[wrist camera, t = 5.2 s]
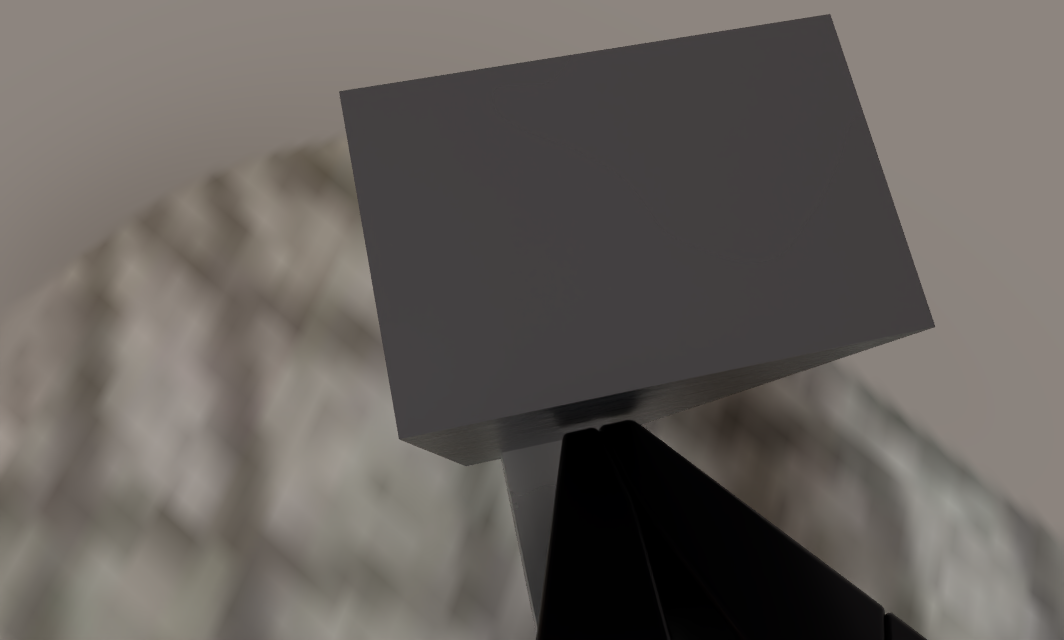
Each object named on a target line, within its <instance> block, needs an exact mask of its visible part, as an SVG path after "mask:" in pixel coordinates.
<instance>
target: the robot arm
mask: <svg viewBox="0 0 1064 640" xmlns="http://www.w3.org/2000/svg"><path fill="white" fill-rule="evenodd" d="M536 640H927V639H926V638H924V637H923V636H922V635H920V634H919V633H918V632H916V631H915V630H914V629H912V628H911V627H910V626H908V625H907V624H906V623H904V622H903V621H902V620H900V619H899V618H898V617H896V616H895V615H894V614H892V613H887V614H886V615H885V610H884V608H883V607H882V606H881V605H880V604H879V603H877V602H876V601H875V600H873V599H872V598H871V597H869V596H868V595H867V594H865V593H864V592H863V591H861V590H860V589H859V588H857V587H856V586H855V585H853V584H852V583H851V582H849V581H848V580H847V579H845V578H844V577H843V576H841V575H840V574H839V573H837V572H836V571H835V570H833V569H832V568H831V567H829V566H828V565H827V564H825V563H824V562H823V561H821V560H820V559H819V558H817V557H816V556H815V555H813V554H812V553H811V552H809V551H808V550H807V549H805V548H804V547H803V546H801V545H800V544H799V543H797V542H796V541H795V540H793V539H792V538H791V537H789V536H788V535H787V534H785V533H784V532H783V531H781V530H780V529H779V528H777V527H776V526H775V525H773V524H772V523H771V522H769V521H768V520H767V519H765V518H764V517H763V516H761V515H760V514H759V513H757V512H756V511H755V510H753V509H752V508H751V507H749V506H748V505H747V504H745V503H744V502H743V501H741V500H740V499H739V498H737V497H736V496H735V495H733V494H732V493H731V492H729V491H728V490H727V489H725V488H724V487H723V486H721V485H720V484H719V483H717V482H716V481H715V480H713V479H712V478H711V477H709V476H708V475H707V474H705V473H704V472H703V471H701V470H700V469H699V468H697V467H696V466H695V465H693V464H692V463H691V462H689V461H688V460H687V459H685V458H684V457H683V456H681V455H680V454H679V453H677V452H676V451H675V450H673V449H672V448H671V447H669V446H668V445H667V444H665V443H664V442H663V441H661V440H660V439H659V438H657V437H656V436H655V435H653V434H652V433H651V432H649V431H648V430H647V429H645V428H644V427H643V426H641V425H640V424H639V423H637V422H636V421H633V420H624V421H620V422H615V423H610V424H605V425H603V426H601V427H600V428H599V431H598V430H597V429H596V428H587V429H582V430H578V431H573V432H568V433H566V434H565V435H564V436H563V438H562V445H561V452H560V460H559V468H558V475H557V483H556V490H555V498H554V506H553V513H552V521H551V529H550V536H549V544H548V551H547V559H546V567H545V574H544V582H543V589H542V597H541V605H540V612H539V620H538V628H537V635H536Z"/></svg>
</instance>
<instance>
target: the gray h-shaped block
mask: <svg viewBox="0 0 1064 640" xmlns="http://www.w3.org/2000/svg"><path fill="white" fill-rule="evenodd" d="M339 93H340V99H341V105H342V110H343V116H344V122H345V128H346V134H347V140H348V145H349V151H350V157H351V163H352V169H353V174H354V180H355V186H356V192H357V198H358V203H359V209H360V215H361V221H362V227H363V232H364V238H365V244H366V250H367V256H368V261H369V267H370V273H371V279H372V285H373V290H374V296H375V302H376V308H377V314H378V319H379V325H380V331H381V337H382V343H383V348H384V354H385V360H386V366H387V371H388V377H389V383H390V389H391V395H392V400H393V406H394V412H395V418H396V424H397V429H398V435H399V439H400V440H402V441H405V442H407V443H410V444H412V445H415V446H417V447H420V448H422V449H424V450H427V451H429V452H432V453H434V454H437V455H439V456H442V457H444V458H447V459H449V460H452V461H454V462H457V463H459V464H462V465H464V466H469V465H474V464H479V463H483V462H488V461H492V460H497V459H501V461H502V466H503V471H504V476H505V481H506V486H507V491H508V496H509V501H510V506H511V511H512V516H513V521H514V526H515V531H516V536H517V541H518V546H519V551H520V556H521V561H522V566H523V571H524V576H525V581H526V586H527V591H528V596H529V601H530V606H531V611H532V616H533V621H534V626H535V631H536V635H537V628H538V620H539V612H540V605H541V597H542V589H543V582H544V574H545V567H546V559H547V551H548V544H549V536H550V529H551V521H552V513H553V506H554V498H555V490H556V483H557V475H558V468H559V460H560V452H561V445H562V438H563V436H564V435H565V434H566V433H568V432H573V431H578V430H582V429H587V428H596V429H597V430H598V431H599V428H600V427H601V426H603V425H605V424H610V423H615V422H620V421H624V420H633V421H636V422H637V423H639V424H640V425H642V424H645V423H648V422H651V421H654V420H657V419H660V418H663V417H666V416H669V415H672V414H675V413H678V412H681V411H684V410H687V409H690V408H693V407H696V406H699V405H702V404H705V403H708V402H711V401H714V400H717V399H720V398H723V397H726V396H729V395H732V394H735V393H738V392H741V391H744V390H747V389H750V388H753V387H756V386H759V385H762V384H765V383H768V382H771V381H774V380H777V379H780V378H783V377H786V376H789V375H792V374H795V373H798V372H801V371H804V370H807V369H810V368H813V367H816V366H819V365H822V364H825V363H828V362H831V361H834V360H837V359H840V358H843V357H846V356H849V355H852V354H855V353H858V352H861V351H864V350H867V349H870V348H873V347H876V346H879V345H882V344H885V343H888V342H891V341H894V340H897V339H900V338H903V337H906V336H909V335H912V334H915V333H918V332H921V331H924V330H927V329H930V328H933V327H935V325H934V322H933V319H932V316H931V313H930V310H929V307H928V304H927V301H926V298H925V295H924V292H923V289H922V286H921V283H920V280H919V277H918V274H917V271H916V268H915V265H914V262H913V259H912V257H911V253H910V250H909V247H908V245H907V242H906V238H905V235H904V232H903V229H902V226H901V223H900V220H899V218H898V215H897V212H896V209H895V206H894V203H893V200H892V197H891V194H890V191H889V188H888V185H887V182H886V179H885V176H884V173H883V170H882V167H881V164H880V161H879V158H878V155H877V152H876V149H875V146H874V143H873V141H872V137H871V134H870V131H869V128H868V125H867V123H866V119H865V117H864V114H863V110H862V108H861V105H860V102H859V99H858V96H857V93H856V90H855V87H854V84H853V81H852V78H851V75H850V72H849V69H848V66H847V63H846V60H845V57H844V54H843V51H842V48H841V45H840V42H839V39H838V36H837V33H836V30H835V28H834V24H833V21H832V18H831V15H830V14H829V15H822V16H816V17H810V18H803V19H796V20H790V21H784V22H778V23H771V24H765V25H759V26H752V27H746V28H739V29H733V30H727V31H720V32H714V33H708V34H702V35H695V36H689V37H682V38H676V39H669V40H663V41H657V42H651V43H644V44H638V45H631V46H625V47H619V48H612V49H606V50H600V51H593V52H587V53H581V54H574V55H568V56H562V57H555V58H549V59H542V60H536V61H530V62H524V63H517V64H511V65H504V66H498V67H492V68H485V69H479V70H473V71H466V72H460V73H453V74H447V75H441V76H435V77H428V78H422V79H416V80H409V81H403V82H397V83H390V84H384V85H377V86H371V87H365V88H358V89H352V90H346V91H340V92H339Z"/></svg>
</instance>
